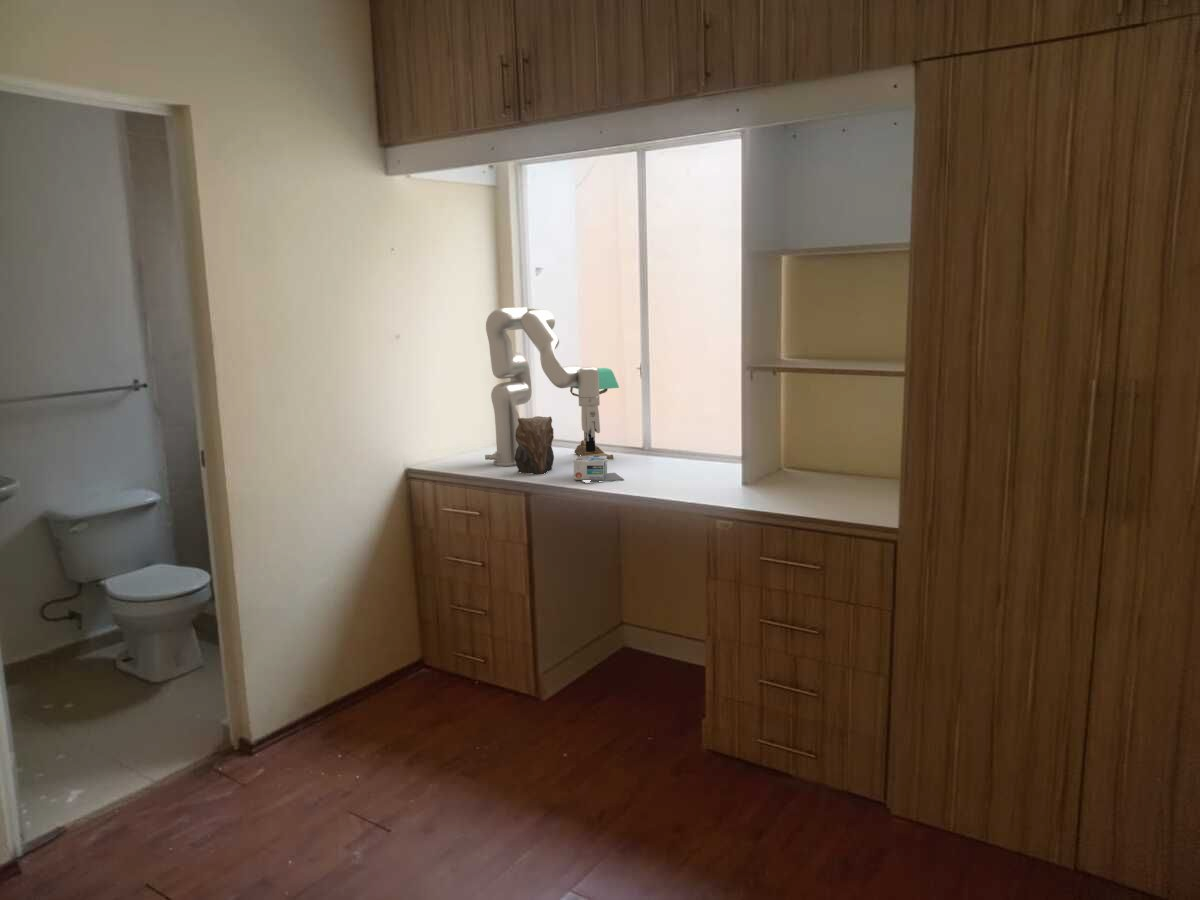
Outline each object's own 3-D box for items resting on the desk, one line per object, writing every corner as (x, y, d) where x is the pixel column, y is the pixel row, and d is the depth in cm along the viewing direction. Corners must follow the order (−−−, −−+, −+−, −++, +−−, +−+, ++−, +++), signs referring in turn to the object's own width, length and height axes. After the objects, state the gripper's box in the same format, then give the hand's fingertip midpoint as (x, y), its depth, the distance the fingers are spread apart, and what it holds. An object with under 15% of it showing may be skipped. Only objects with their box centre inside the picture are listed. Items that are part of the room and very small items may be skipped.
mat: (584, 483, 298) (584, 482, 297) (576, 476, 309) (576, 475, 309) (623, 480, 301) (623, 479, 301) (614, 473, 312) (614, 472, 312)
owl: (513, 472, 320) (510, 419, 317) (532, 466, 331) (530, 414, 327) (542, 475, 314) (539, 420, 310) (560, 468, 325) (558, 415, 321)
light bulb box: (607, 455, 310) (603, 460, 299) (607, 474, 311) (604, 480, 300) (577, 455, 311) (573, 461, 300) (578, 474, 312) (573, 480, 301)
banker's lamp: (601, 450, 358) (599, 366, 352) (623, 458, 340) (620, 369, 333) (566, 454, 352) (562, 368, 346) (586, 463, 333) (583, 372, 327)
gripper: (604, 403, 306) (605, 454, 309) (594, 398, 320) (595, 447, 324) (583, 404, 304) (584, 455, 308) (574, 399, 318) (576, 448, 322)
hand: (590, 451), depth 315 cm, fingers closed
